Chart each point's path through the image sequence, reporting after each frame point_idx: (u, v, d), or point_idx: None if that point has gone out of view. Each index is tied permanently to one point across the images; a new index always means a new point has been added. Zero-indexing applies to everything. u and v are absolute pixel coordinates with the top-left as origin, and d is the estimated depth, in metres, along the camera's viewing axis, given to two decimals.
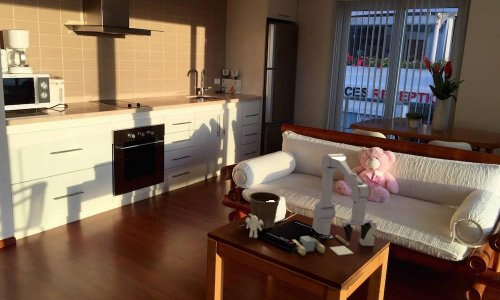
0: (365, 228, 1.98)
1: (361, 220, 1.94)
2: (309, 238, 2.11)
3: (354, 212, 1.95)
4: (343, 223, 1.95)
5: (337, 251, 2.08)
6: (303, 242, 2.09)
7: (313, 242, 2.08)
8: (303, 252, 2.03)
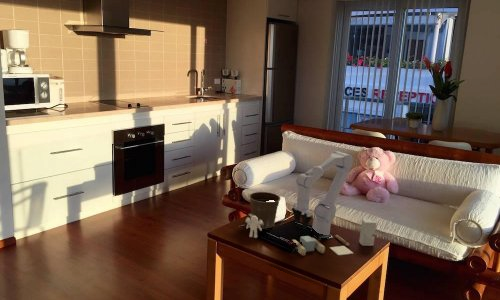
0: None
1: (297, 205, 2.13)
2: (309, 238, 2.11)
3: None
4: None
5: (337, 251, 2.08)
6: (303, 242, 2.09)
7: (313, 242, 2.08)
8: (303, 252, 2.03)
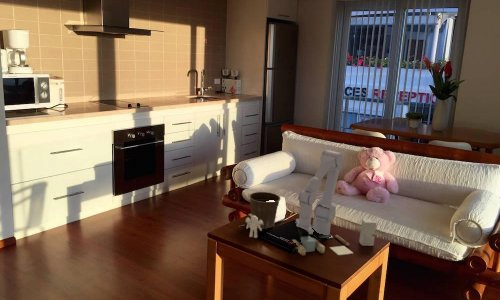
0: None
1: (299, 222, 2.11)
2: (310, 238, 2.10)
3: None
4: None
5: (337, 251, 2.08)
6: (303, 242, 2.09)
7: (314, 242, 2.07)
8: (303, 252, 2.03)
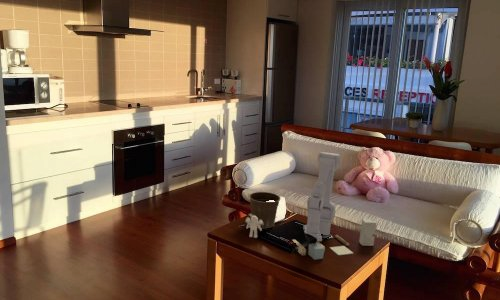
0: None
1: (307, 229, 2.04)
2: (318, 245, 2.03)
3: None
4: None
5: (337, 251, 2.08)
6: (311, 249, 2.02)
7: (322, 249, 2.00)
8: (303, 252, 2.03)
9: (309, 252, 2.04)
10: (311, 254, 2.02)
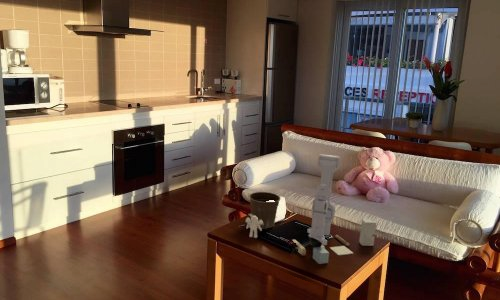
0: None
1: (311, 233, 2.00)
2: (323, 249, 1.99)
3: None
4: None
5: (337, 251, 2.08)
6: (316, 253, 1.98)
7: (327, 254, 1.96)
8: (303, 252, 2.03)
9: (314, 256, 2.00)
10: (316, 258, 1.98)
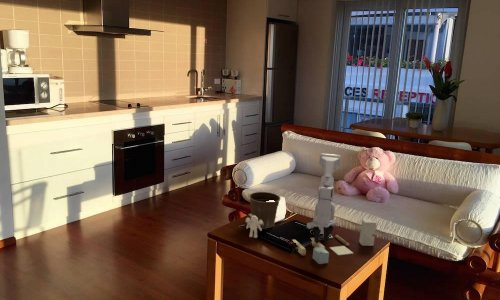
0: (327, 230, 1.97)
1: (326, 222, 1.94)
2: (323, 249, 1.99)
3: (319, 214, 1.94)
4: (308, 225, 1.94)
5: (337, 251, 2.08)
6: (316, 253, 1.98)
7: (327, 254, 1.96)
8: (303, 252, 2.03)
9: (314, 256, 2.00)
10: (316, 258, 1.98)
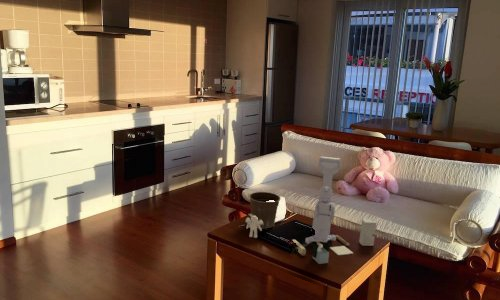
0: (326, 245, 1.98)
1: (324, 237, 1.95)
2: (323, 249, 1.99)
3: (317, 229, 1.95)
4: (306, 240, 1.95)
5: (337, 251, 2.08)
6: None
7: (327, 254, 1.96)
8: (303, 252, 2.03)
9: None
10: (316, 258, 1.98)
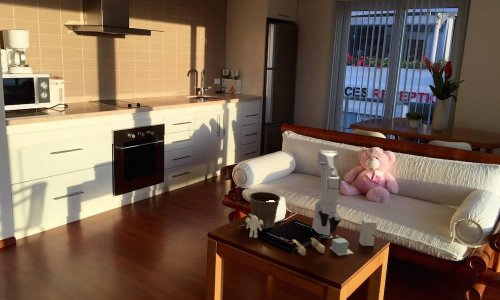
0: None
1: (325, 209, 2.06)
2: (342, 241, 2.08)
3: None
4: None
5: None
6: None
7: (336, 243, 2.06)
8: (303, 252, 2.03)
9: None
10: None
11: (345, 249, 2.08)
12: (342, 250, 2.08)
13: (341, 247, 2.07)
